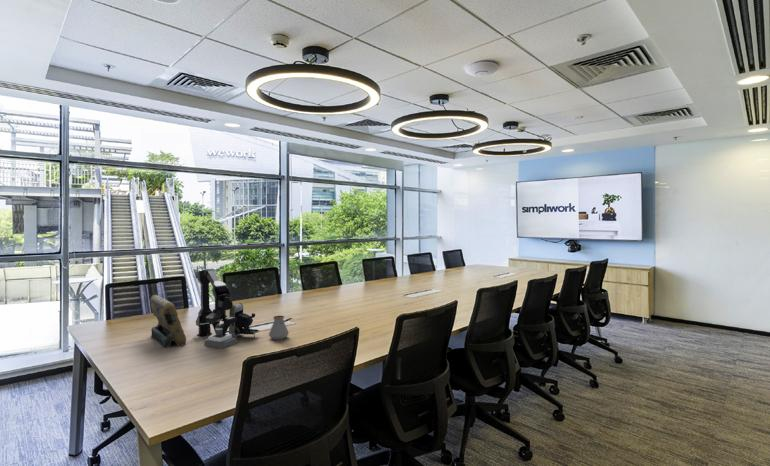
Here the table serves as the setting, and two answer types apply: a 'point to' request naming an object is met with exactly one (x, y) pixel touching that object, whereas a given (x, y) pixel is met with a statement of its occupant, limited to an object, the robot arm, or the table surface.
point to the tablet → (166, 323)
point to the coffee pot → (279, 328)
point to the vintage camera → (241, 322)
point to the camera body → (220, 341)
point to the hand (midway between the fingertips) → (220, 334)
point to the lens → (219, 330)
